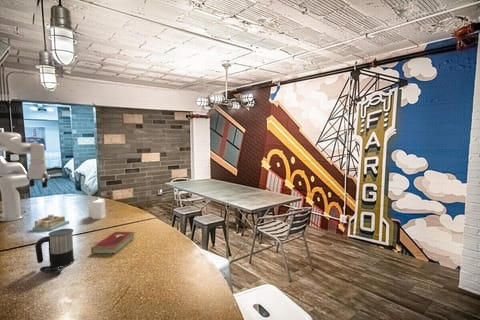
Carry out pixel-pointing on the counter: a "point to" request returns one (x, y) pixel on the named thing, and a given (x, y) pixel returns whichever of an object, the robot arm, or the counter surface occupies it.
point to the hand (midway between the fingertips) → (38, 186)
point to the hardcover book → (113, 242)
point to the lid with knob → (51, 227)
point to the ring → (46, 223)
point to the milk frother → (56, 250)
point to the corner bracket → (97, 209)
